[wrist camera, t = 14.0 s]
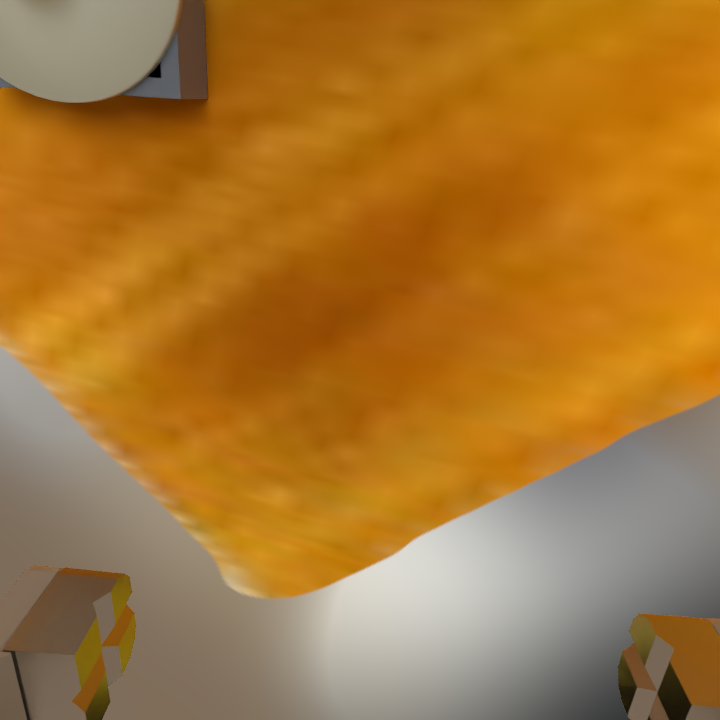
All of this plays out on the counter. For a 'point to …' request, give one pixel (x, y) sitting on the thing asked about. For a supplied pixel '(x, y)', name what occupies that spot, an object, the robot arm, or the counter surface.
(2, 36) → the lid
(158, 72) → the grey storage tray
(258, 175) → the counter surface
